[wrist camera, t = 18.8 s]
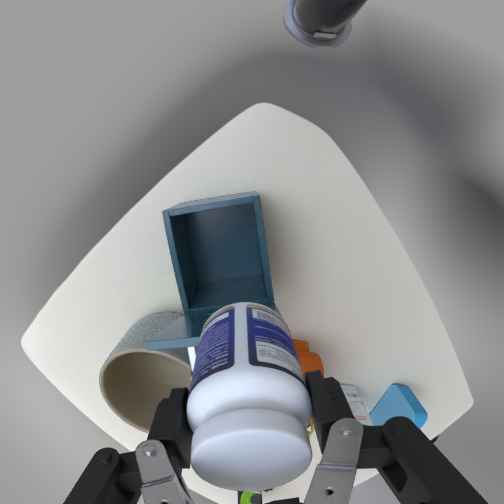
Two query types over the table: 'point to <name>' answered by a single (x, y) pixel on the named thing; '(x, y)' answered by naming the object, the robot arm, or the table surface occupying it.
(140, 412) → the planter
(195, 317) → the lid
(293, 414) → the pill bottle
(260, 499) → the beverage can
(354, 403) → the ink box
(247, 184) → the table surface
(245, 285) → the chest
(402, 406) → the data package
